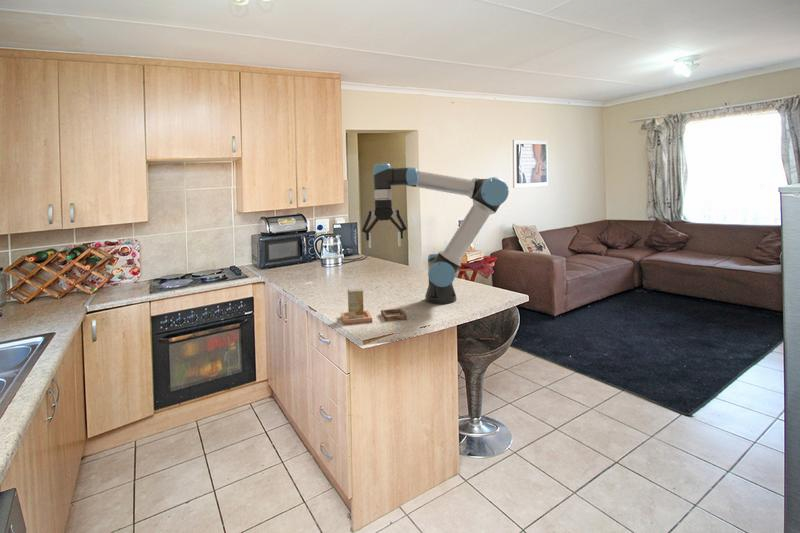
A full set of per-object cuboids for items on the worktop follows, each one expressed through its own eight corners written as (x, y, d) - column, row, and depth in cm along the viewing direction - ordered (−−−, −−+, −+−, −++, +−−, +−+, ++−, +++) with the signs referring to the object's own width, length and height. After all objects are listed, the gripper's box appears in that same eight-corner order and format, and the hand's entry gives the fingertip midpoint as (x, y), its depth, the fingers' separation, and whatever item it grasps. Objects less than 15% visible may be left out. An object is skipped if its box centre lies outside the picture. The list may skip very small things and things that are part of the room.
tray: (368, 314, 192) (368, 310, 191) (372, 322, 180) (372, 317, 180) (341, 317, 189) (340, 312, 189) (343, 325, 178) (343, 320, 177)
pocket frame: (400, 312, 193) (400, 308, 193) (406, 319, 183) (406, 315, 182) (381, 314, 191) (380, 310, 191) (385, 321, 181) (385, 317, 180)
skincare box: (349, 320, 182) (348, 291, 180) (348, 317, 186) (346, 289, 184) (364, 318, 183) (363, 290, 181) (363, 315, 188) (361, 288, 185)
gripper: (408, 198, 199) (409, 244, 203) (354, 200, 194) (356, 247, 198) (412, 198, 192) (413, 246, 195) (356, 200, 187) (358, 249, 190)
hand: (384, 246), depth 197 cm, fingers open, 13 cm apart
